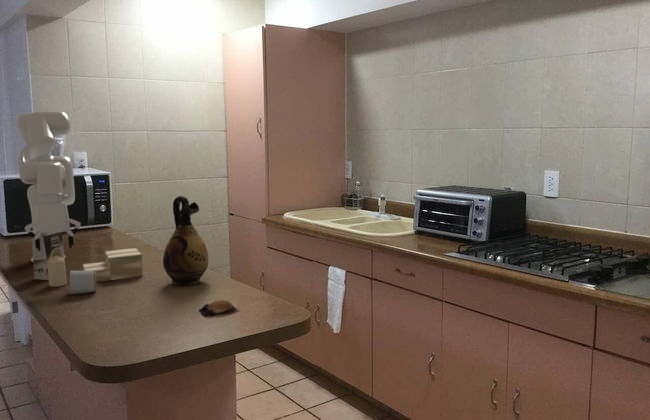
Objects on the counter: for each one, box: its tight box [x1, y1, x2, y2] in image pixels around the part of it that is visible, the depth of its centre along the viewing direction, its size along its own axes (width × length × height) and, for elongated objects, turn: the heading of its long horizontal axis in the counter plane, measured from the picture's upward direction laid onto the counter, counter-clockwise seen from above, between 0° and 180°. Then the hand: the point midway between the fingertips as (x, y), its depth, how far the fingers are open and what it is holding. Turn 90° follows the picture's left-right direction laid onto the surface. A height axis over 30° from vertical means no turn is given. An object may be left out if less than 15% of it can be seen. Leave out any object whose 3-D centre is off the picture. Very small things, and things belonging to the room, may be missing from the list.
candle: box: [47, 256, 67, 288], centre depth 197 cm, size 6×6×10 cm
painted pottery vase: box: [162, 195, 209, 287], centre depth 197 cm, size 17×15×30 cm
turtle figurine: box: [198, 299, 240, 318], centre depth 167 cm, size 11×8×4 cm
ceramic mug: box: [69, 270, 97, 296], centre depth 189 cm, size 11×8×8 cm
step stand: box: [82, 247, 144, 283], centre depth 209 cm, size 13×19×8 cm
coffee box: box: [31, 232, 65, 281], centre depth 207 cm, size 9×6×16 cm
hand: (55, 248), depth 195 cm, fingers open, 9 cm apart
